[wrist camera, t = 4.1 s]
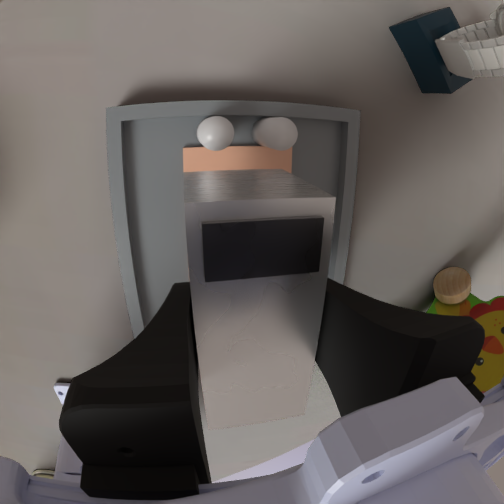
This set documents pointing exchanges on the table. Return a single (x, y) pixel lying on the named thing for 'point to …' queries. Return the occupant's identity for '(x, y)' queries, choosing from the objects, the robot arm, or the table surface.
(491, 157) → the table surface
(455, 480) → the robot arm
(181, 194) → the tray
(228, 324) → the drive
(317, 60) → the table surface
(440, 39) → the watch
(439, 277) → the toy lion
